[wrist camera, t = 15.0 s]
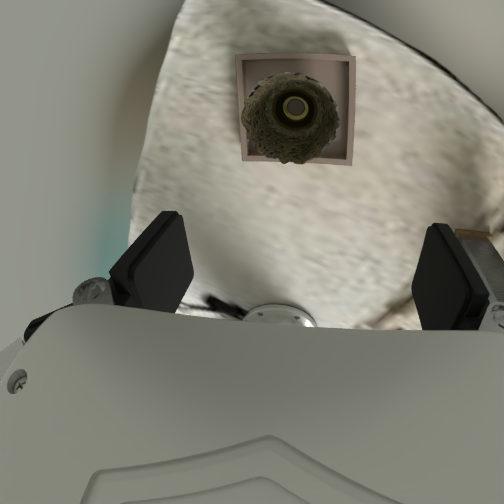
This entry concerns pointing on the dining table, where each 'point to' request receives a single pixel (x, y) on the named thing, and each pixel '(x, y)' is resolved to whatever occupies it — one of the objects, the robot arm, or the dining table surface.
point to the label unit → (484, 261)
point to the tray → (314, 66)
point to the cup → (290, 118)
